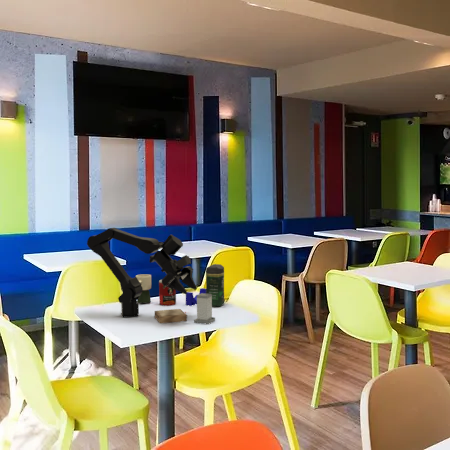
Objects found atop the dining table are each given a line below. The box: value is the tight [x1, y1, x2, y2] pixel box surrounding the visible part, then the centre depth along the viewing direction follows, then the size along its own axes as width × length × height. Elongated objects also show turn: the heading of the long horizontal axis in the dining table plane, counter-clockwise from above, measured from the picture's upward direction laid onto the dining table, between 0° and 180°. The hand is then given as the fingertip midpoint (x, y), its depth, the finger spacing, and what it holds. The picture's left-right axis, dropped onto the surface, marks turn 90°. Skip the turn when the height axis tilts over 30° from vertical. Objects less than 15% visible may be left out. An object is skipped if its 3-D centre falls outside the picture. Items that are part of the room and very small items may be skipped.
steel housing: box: [193, 293, 216, 325], centre depth 217 cm, size 6×6×11 cm
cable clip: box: [185, 287, 206, 307], centre depth 252 cm, size 12×4×6 cm, turn 144°
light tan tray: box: [154, 308, 188, 324], centre depth 222 cm, size 11×11×3 cm
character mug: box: [135, 273, 152, 304], centre depth 253 cm, size 11×7×13 cm, turn 166°
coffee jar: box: [205, 263, 225, 308], centre depth 247 cm, size 10×8×19 cm
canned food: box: [158, 279, 177, 307], centre depth 250 cm, size 8×8×11 cm
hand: (191, 291), depth 219 cm, fingers open, 9 cm apart
